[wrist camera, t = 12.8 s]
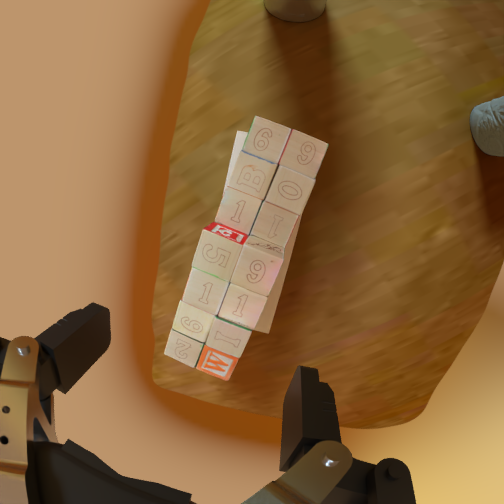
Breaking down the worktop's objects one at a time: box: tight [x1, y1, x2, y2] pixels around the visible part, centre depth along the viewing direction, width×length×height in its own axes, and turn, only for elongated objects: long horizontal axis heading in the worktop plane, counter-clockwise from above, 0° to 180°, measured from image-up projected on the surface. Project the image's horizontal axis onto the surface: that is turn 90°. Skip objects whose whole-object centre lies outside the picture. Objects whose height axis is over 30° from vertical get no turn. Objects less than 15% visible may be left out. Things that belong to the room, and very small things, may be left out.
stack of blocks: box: [164, 116, 329, 381], centre depth 25 cm, size 21×6×12 cm, turn 158°
